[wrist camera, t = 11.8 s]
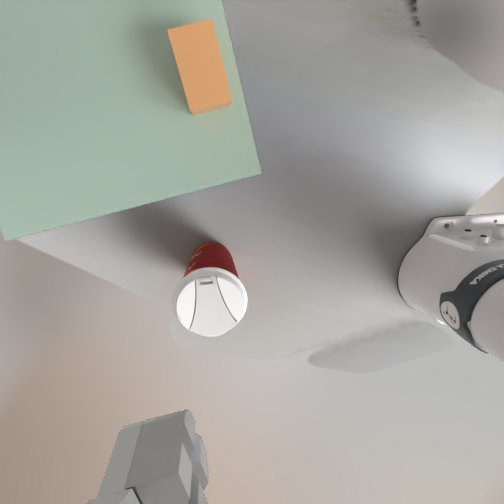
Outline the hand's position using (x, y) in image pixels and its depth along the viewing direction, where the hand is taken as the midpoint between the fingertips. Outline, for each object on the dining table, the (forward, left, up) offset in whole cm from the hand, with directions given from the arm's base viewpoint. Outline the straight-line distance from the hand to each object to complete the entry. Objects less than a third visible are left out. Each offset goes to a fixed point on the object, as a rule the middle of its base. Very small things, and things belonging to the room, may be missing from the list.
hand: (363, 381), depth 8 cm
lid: (+10, -11, -24) cm, 28 cm away
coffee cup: (+7, +10, -41) cm, 43 cm away
